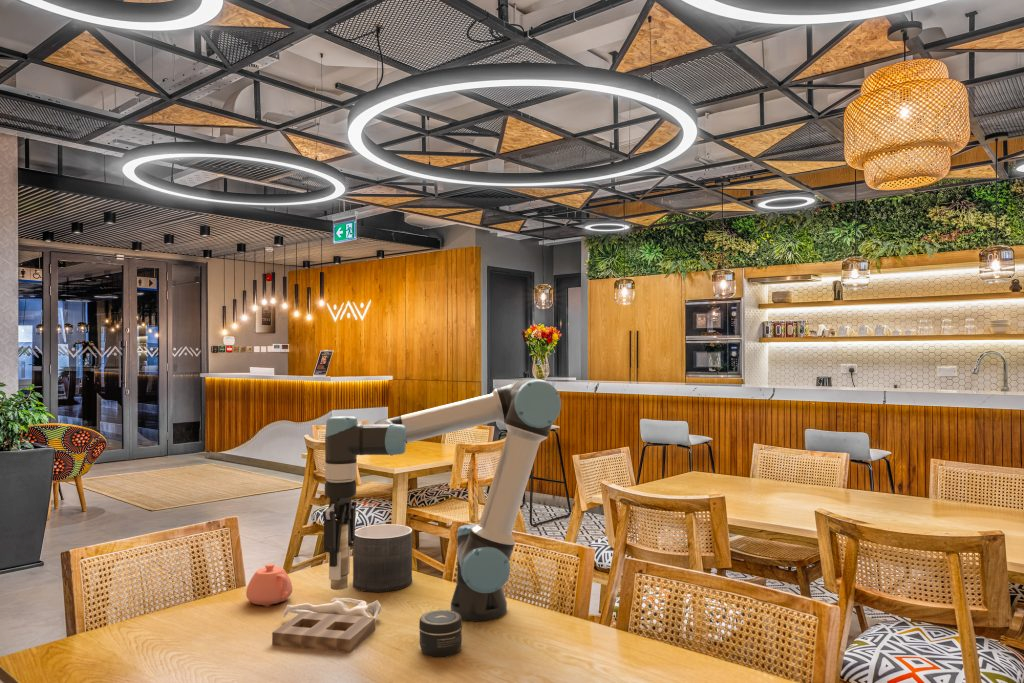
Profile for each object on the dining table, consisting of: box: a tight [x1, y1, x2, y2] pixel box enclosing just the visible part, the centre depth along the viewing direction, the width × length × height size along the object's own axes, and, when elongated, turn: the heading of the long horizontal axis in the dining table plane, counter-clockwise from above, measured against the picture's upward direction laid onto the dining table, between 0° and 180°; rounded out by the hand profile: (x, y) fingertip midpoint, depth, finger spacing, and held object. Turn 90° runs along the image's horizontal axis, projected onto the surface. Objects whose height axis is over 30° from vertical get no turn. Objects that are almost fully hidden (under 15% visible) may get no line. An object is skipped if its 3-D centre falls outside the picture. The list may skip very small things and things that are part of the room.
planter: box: [352, 523, 413, 593], centre depth 211 cm, size 18×18×16 cm
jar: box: [418, 609, 463, 659], centre depth 162 cm, size 10×10×8 cm
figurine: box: [282, 597, 383, 623], centre depth 180 cm, size 8×6×25 cm
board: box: [271, 612, 376, 653], centre depth 169 cm, size 20×14×3 cm
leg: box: [330, 524, 349, 591], centre depth 169 cm, size 4×4×15 cm
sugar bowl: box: [245, 563, 293, 607], centre depth 195 cm, size 12×14×10 cm
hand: (339, 576), depth 169 cm, fingers closed on leg, 4 cm apart
